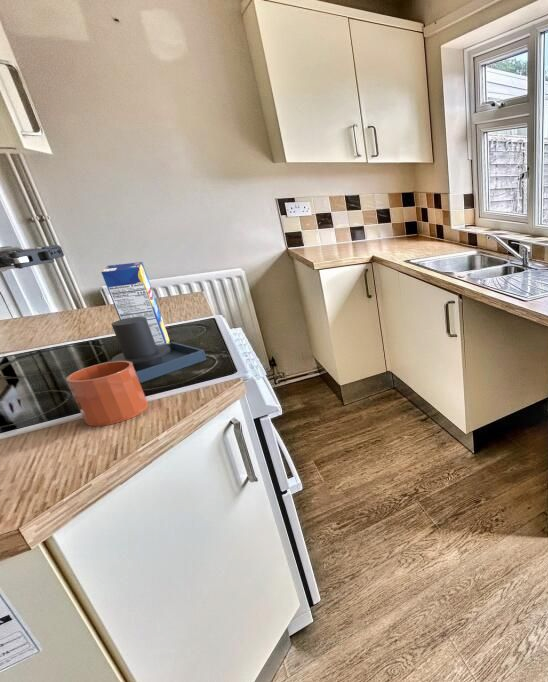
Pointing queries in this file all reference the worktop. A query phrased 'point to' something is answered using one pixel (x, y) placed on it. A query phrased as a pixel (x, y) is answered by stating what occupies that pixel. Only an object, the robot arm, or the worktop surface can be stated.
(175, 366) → the tray
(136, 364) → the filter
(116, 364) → the cup
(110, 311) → the worktop surface
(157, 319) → the beverage box
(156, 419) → the worktop surface
